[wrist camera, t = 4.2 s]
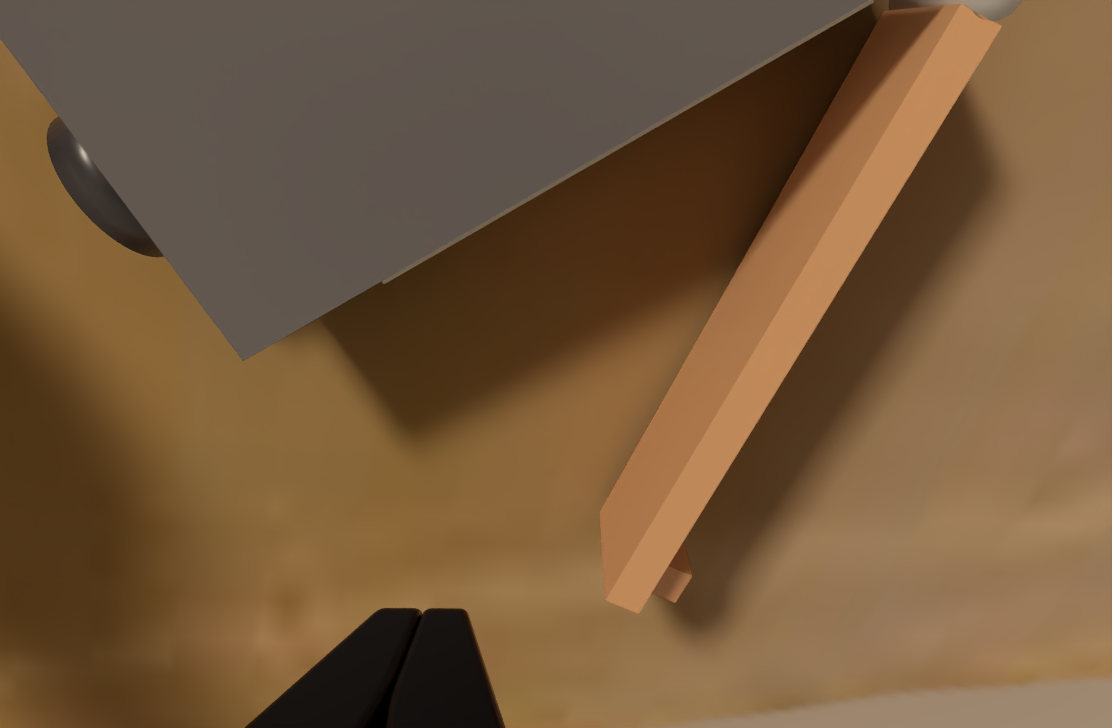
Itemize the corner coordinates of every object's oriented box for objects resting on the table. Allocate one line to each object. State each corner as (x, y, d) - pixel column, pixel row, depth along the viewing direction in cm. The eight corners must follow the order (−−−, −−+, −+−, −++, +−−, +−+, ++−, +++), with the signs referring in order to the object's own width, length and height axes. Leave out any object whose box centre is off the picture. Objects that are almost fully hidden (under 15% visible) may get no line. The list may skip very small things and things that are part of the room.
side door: (660, 537, 22) (677, 629, 18) (598, 511, 21) (603, 599, 18) (980, 9, 17) (1081, 1, 14) (904, -32, 17) (990, -51, 13)
